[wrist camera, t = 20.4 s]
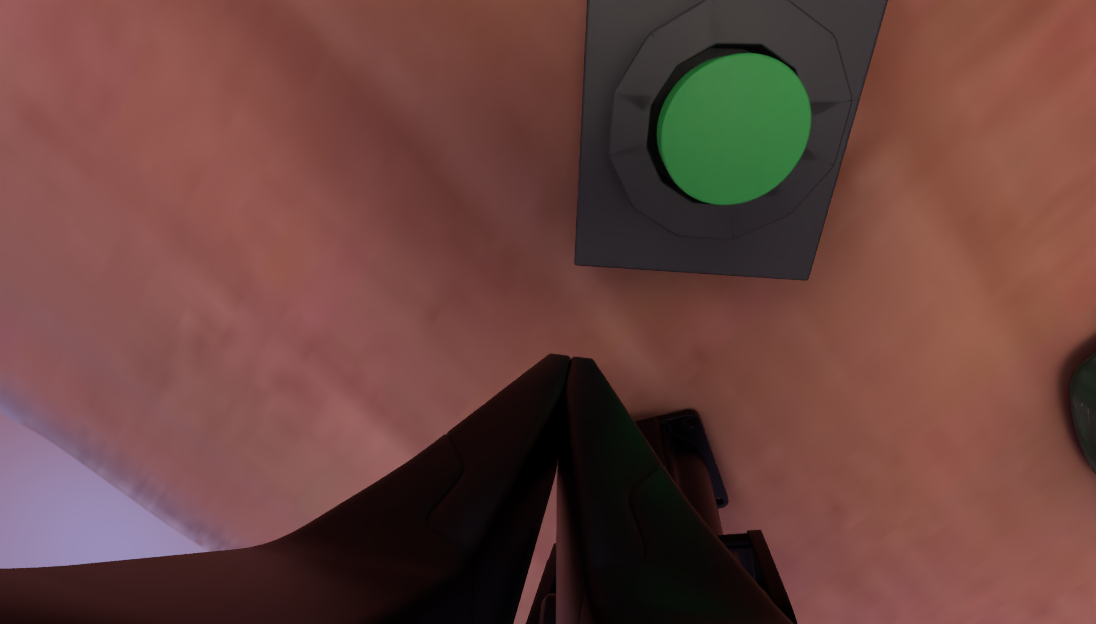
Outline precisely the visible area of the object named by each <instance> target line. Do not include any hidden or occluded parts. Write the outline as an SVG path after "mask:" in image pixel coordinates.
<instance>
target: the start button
mask: <svg viewBox="0 0 1096 624" xmlns="http://www.w3.org/2000/svg"><path fill="white" fill-rule="evenodd" d="M810 129H811V106H810V102H809V97H808V94H807V92H806V89H805V87H804V85H803V84H802V82H801V80H800V79H799V77H798V76H797V75H796V74H795V73H794V71H792V70H791V69H790V68H789V67H788V66H787V65H785V64H784V63H782V62H780V61H779V60H777V59H774V58H772V57H770V56H766V55H762V54H756V53H738V54H732V55H727V56H722V57H717V58H714V59H711V60H708V61H705V62H703V63H701V64H699V65H698V66H696V67H694V68H693V69H691V70H690V71H689V72H688V73H686V74H685V75H684V76H683V77H682V78H681V79H680V80H679V81H678V82H677V83H676V84H675V86H674V87H673V88H672V89H671V91H670V92H669V94H668V96H667V97H666V99H665V101H664V104H663V106H662V108H661V111H660V115H659V118H658V124H657V145H658V150H659V153H660V156H661V159H662V161H663V163H664V165H665V167H666V169H667V171H668V173H669V175H670V176H671V178H672V179H673V181H674V182H675V183H676V184H677V185H678V187H679V188H680V189H681V190H683V191H684V192H685V193H687V194H688V195H689V196H691V197H693V198H695V199H697V200H699V201H702V202H705V203H709V204H714V205H735V204H741V203H745V202H749V201H751V200H754V199H756V198H759V197H761V196H763V195H764V194H766V193H768V192H769V191H771V190H772V189H774V188H775V187H776V186H778V185H779V184H780V183H781V182H782V181H783V180H784V179H785V178H786V177H787V176H788V175H789V174H790V173H791V172H792V170H793V169H794V168H795V166H796V165H797V163H798V162H799V160H800V158H801V156H802V154H803V152H804V150H805V148H806V145H807V142H808V139H809V134H810Z"/></svg>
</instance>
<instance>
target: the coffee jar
mask: <svg viewBox="0 0 1096 624" xmlns="http://www.w3.org/2000/svg"><path fill="white" fill-rule="evenodd" d="M1069 391H1070V407H1071V414H1072V420H1073V423H1074V428H1075V432H1076V435H1077V438H1078V441H1079V443H1080V446H1081V448H1082V451H1083V453H1084V455H1085V457H1086V459H1087V461H1088V463H1089V465H1090V466H1091V468H1092V469H1093V471H1094V473H1095V474H1096V351H1095V352H1094V353H1093V354H1092V355H1091V356H1090V357H1088V358H1087V359H1086V360H1085V361H1084V362H1082V363H1081V364H1080V365H1079V366H1078V367H1077V368H1076V370H1075V371H1074V373H1073V376H1072V378H1071V381H1070V390H1069Z"/></svg>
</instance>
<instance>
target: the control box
mask: <svg viewBox="0 0 1096 624" xmlns="http://www.w3.org/2000/svg"><path fill="white" fill-rule="evenodd" d="M887 2H888V0H587V15H586V36H585V56H584V77H583V98H582V118H581V139H580V159H579V180H578V200H577V221H576V241H575V262H574V263H575V265H580V266H595V267H610V268H625V269H640V270H655V271H670V272H685V273H700V274H715V275H730V276H745V277H760V278H775V279H790V280H805V281H806V280H808V279H809V276H810V272H811V269H812V265H813V262H814V258H815V254H816V251H817V247H818V244H819V240H820V237H821V233H822V230H823V226H824V223H825V219H826V216H827V212H828V209H829V205H830V202H831V198H832V195H833V191H834V188H835V184H836V181H837V177H838V174H839V170H840V167H841V163H842V160H843V156H844V153H845V149H846V146H847V142H848V139H849V135H850V132H851V128H852V125H853V121H854V118H855V114H856V111H857V107H858V103H859V100H860V96H861V93H862V89H863V86H864V82H865V79H866V75H867V72H868V68H869V65H870V61H871V58H872V54H873V51H874V47H875V44H876V40H877V37H878V33H879V30H880V26H881V23H882V19H883V16H884V12H885V9H886V5H887ZM738 53H756V54H762V55H766V56H770V57H772V58H774V59H777V60H779V61H780V62H782V63H784V64H785V65H787V66H788V67H789V68H790V69H791V70H792V71H794V73H795V74H796V75H797V76H798V77H799V79H800V80H801V82H802V84H803V85H804V87H805V89H806V92H807V94H808V97H809V102H810V106H811V129H810V134H809V139H808V142H807V145H806V148H805V150H804V152H803V154H802V156H801V158H800V160H799V162H798V163H797V165H796V166H795V168H794V169H793V170H792V172H791V173H790V174H789V175H788V176H787V177H786V178H785V179H784V180H783V181H782V182H781V183H780V184H779V185H778V186H776V187H775V188H774V189H772V190H771V191H769V192H768V193H766V194H764V195H763V196H761V197H759V198H756V199H754V200H751V201H749V202H745V203H741V204H735V205H714V204H709V203H705V202H702V201H699V200H697V199H695V198H693V197H691V196H689V195H688V194H687V193H685V192H684V191H683V190H681V189H680V188H679V187H678V185H677V184H676V183H675V182H674V181H673V179H672V178H671V176H670V175H669V173H668V171H667V169H666V167H665V165H664V163H663V161H662V159H661V156H660V153H659V150H658V145H657V124H658V118H659V115H660V111H661V108H662V106H663V104H664V101H665V99H666V97H667V96H668V94H669V92H670V91H671V89H672V88H673V87H674V86H675V84H676V83H677V82H678V81H679V80H680V79H681V78H682V77H683V76H684V75H685V74H686V73H688V72H689V71H690V70H691V69H693V68H694V67H696V66H698V65H699V64H701V63H703V62H705V61H708V60H711V59H714V58H717V57H722V56H727V55H732V54H738Z"/></svg>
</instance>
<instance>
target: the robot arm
mask: <svg viewBox="0 0 1096 624" xmlns="http://www.w3.org/2000/svg"><path fill="white" fill-rule="evenodd" d="M687 419H694V420H693V421H691V422H688V421H686V420H687ZM558 458H559V459H558ZM557 464H558V469H557ZM556 469H557V533H556V543H554V545H553V548H552V551H551V554H550V557H549V559H548V561H547V563H546V566H545V569H544V572H543V575H542V578H541V581H540V584H539V587H538V590H537V593H536V596H535V598H534V601H533V604H532V607H531V610H530V613H529V616H528V619H527V622H526V624H797V621H796V618H795V614H794V611H793V609H792V606H791V603H790V600H789V598H788V595H787V593H786V590H785V588H784V585H783V583H782V581H781V578H780V576H779V573H778V571H777V568H776V566H775V563H774V561H773V558H772V556H771V553H770V551H769V548H768V546H767V543H766V541H765V539H764V536H763V534H762V531H761V530H749V531H747V533H742V534H727V535H723V530H722V526H721V522H720V517H719V513H718V508H723V507H725V506H726V505H727V504H728V497H727V493H726V490H725V487H724V484H723V482H722V479H721V476H720V473H719V470H718V467H717V464H716V462H715V459H714V456H713V453H712V450H711V447H710V444H709V441H708V439H707V436H706V433H705V430H704V427H703V424H702V421H701V419H700V416H699V414H698V412H696V411H695V410H691V409H690V410H683V411H679V412H675V413H671V414H667V415H662V416H658V417H654V418H649V419H645V420H641V421H637V422H634V420H633V419H632V417H631V416H630V414H629V413H628V411H627V409H626V408H625V406H624V405H623V403H622V402H621V400H620V399H619V397H618V396H617V394H616V393H615V391H614V390H613V388H612V387H611V385H610V384H609V382H608V381H607V379H606V378H605V376H604V375H603V373H602V372H601V370H600V369H599V367H598V366H597V364H596V363H595V361H594V360H593V359H591V358H583V357H572V359H570V357H569V356H567V355H559V354H549V355H547V356H546V357H545V358H543V359H542V360H541V361H539V362H538V363H537V364H535V365H534V366H533V367H532V368H530V369H529V370H528V371H526V372H525V373H524V374H522V375H521V376H520V377H519V378H517V379H516V380H515V381H513V382H512V383H511V384H510V385H508V386H507V387H506V388H504V389H503V390H502V391H500V392H499V393H498V394H497V395H495V396H494V397H493V398H491V399H490V400H489V401H487V402H486V403H485V404H484V405H482V406H481V407H480V408H478V409H477V410H476V411H474V412H473V413H472V414H471V415H469V416H468V417H467V418H465V419H464V420H463V421H462V422H460V423H459V424H458V425H456V426H455V427H454V428H452V429H451V430H450V431H449V432H448V433H447V435H446V434H445V435H443V436H442V437H440V438H439V439H438V440H437V441H435V442H434V443H433V444H431V445H430V446H429V447H427V448H426V449H425V450H423V451H422V452H420V453H419V454H418V455H416V456H415V457H413V458H412V459H411V460H409V461H408V462H406V463H405V464H403V465H402V466H400V467H399V468H397V469H396V470H394V471H392V472H391V473H389V474H388V475H386V476H385V477H383V478H382V479H380V480H379V481H377V482H375V483H374V484H372V485H370V486H369V487H367V488H365V489H364V490H362V491H361V492H359V493H357V494H356V495H354V496H352V497H351V498H349V499H347V500H346V501H344V502H343V503H341V504H339V505H338V506H336V507H334V508H333V509H331V510H329V511H328V512H326V513H325V514H323V515H321V516H320V517H318V518H316V519H315V520H313V521H311V522H310V523H308V524H307V525H305V526H303V527H301V528H299V529H298V530H296V531H294V532H292V533H290V534H288V535H286V536H284V537H281V538H279V539H277V540H274V541H271V542H268V543H266V544H262V545H258V546H254V547H249V548H243V549H234V550H224V551H213V552H204V553H193V554H184V555H172V556H162V557H152V558H141V559H131V560H121V561H111V562H100V563H91V564H80V565H69V566H54V567H39V568H16V569H15V568H13V569H0V624H513V623H514V619H515V616H516V612H517V609H518V605H519V602H520V598H521V595H522V591H523V588H524V584H525V581H526V577H527V573H528V570H529V566H530V563H531V559H532V556H533V552H534V549H535V545H536V542H537V538H538V535H539V531H540V528H541V524H542V521H543V517H544V514H545V510H546V507H547V503H548V500H549V496H550V492H551V489H552V485H553V482H554V478H555V474H556ZM716 498H720V499H716Z"/></svg>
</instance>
